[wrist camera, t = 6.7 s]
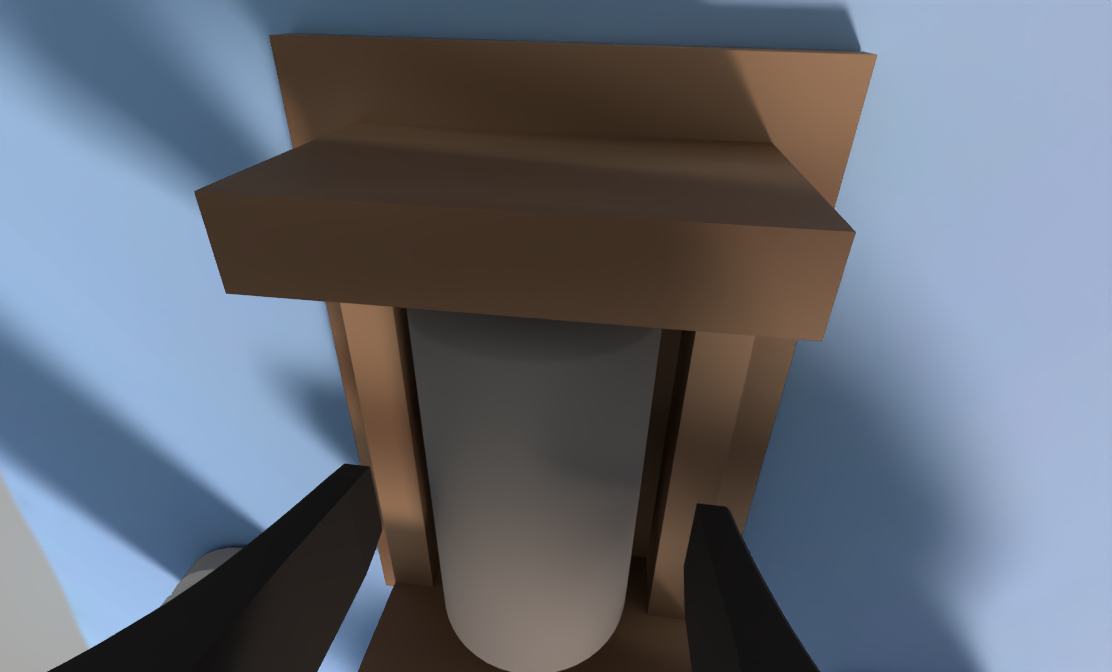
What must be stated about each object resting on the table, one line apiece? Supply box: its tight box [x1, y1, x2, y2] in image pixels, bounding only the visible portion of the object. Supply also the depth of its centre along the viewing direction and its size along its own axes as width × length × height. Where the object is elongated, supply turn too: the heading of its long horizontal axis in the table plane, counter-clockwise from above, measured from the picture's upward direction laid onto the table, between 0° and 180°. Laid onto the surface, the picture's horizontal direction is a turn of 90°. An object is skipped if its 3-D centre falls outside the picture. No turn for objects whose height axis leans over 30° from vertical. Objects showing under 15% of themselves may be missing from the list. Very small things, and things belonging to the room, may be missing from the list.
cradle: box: [194, 33, 877, 672], centre depth 14 cm, size 18×12×6 cm, turn 179°
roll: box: [407, 308, 662, 672], centre depth 13 cm, size 9×5×5 cm, turn 179°
